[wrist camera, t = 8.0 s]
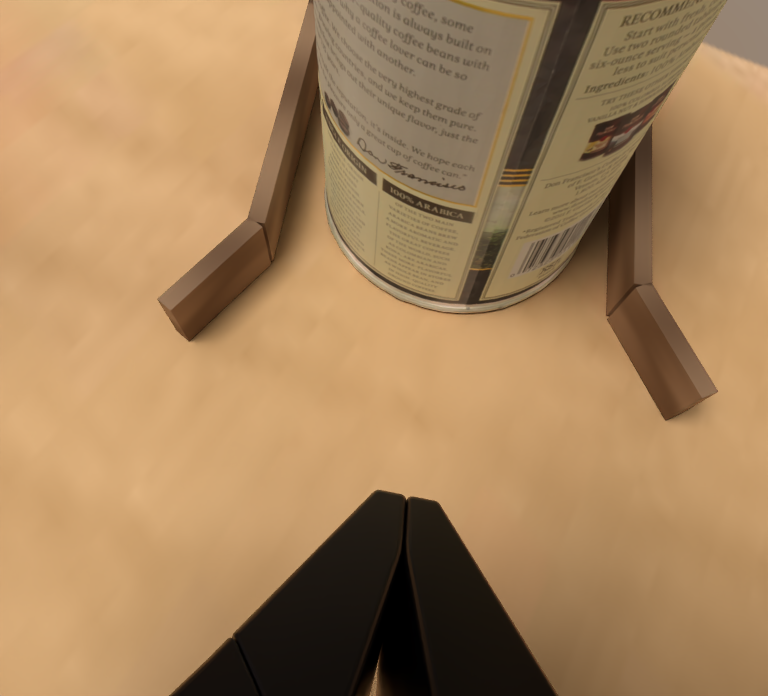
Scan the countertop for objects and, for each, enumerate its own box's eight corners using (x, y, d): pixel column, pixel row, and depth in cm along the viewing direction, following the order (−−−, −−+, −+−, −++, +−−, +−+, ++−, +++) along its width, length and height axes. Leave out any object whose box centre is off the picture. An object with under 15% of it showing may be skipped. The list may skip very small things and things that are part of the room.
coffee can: (401, 59, 28) (447, -428, 15) (621, 162, 26) (890, -278, 13) (268, 235, 24) (173, -205, 11) (515, 366, 23) (740, 36, 10)
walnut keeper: (680, 422, 22) (718, 400, 20) (174, 339, 22) (154, 307, 20) (674, 100, 28) (703, 54, 25) (267, 36, 28) (260, -16, 26)
